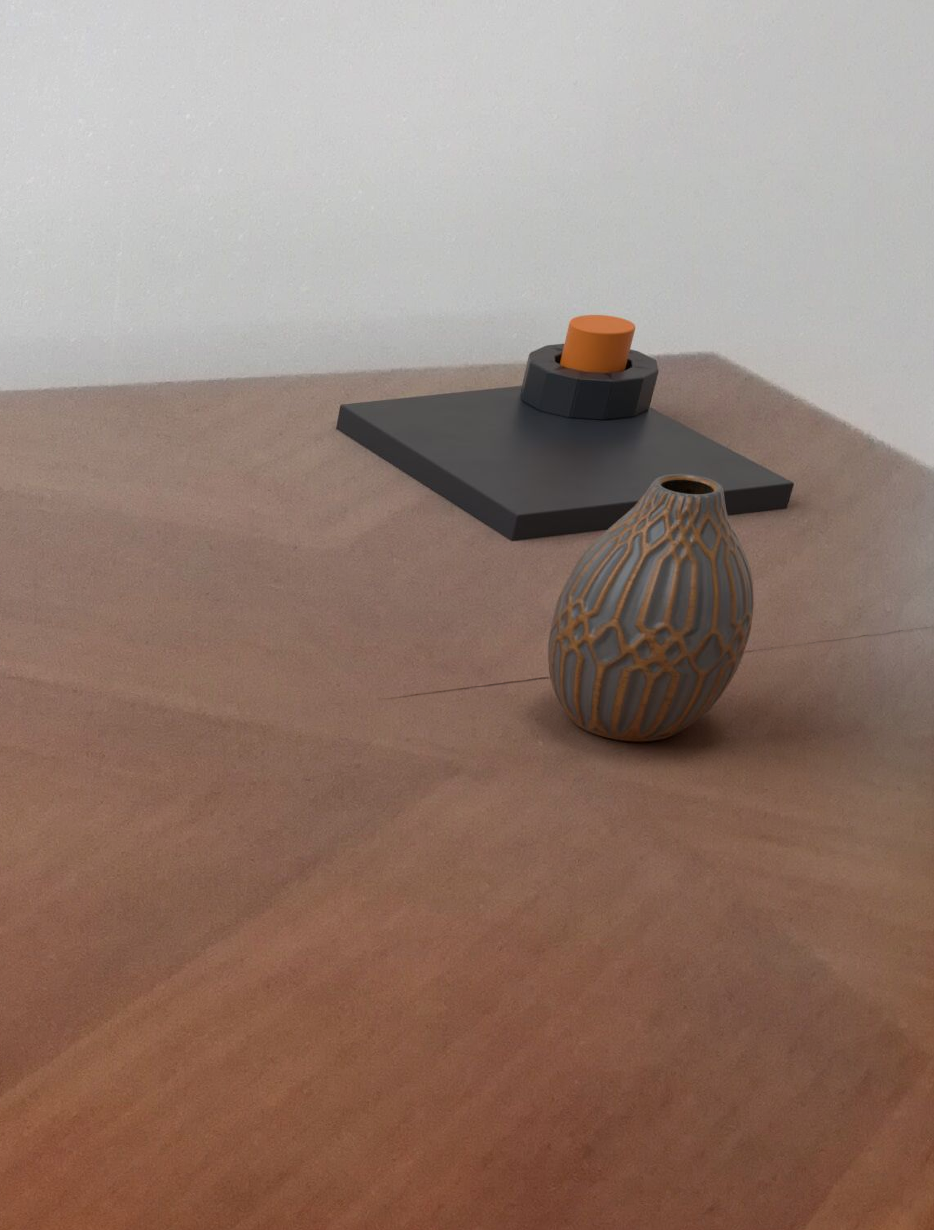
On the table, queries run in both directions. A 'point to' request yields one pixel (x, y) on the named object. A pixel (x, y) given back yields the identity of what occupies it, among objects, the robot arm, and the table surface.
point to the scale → (554, 448)
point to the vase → (653, 615)
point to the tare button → (597, 344)
